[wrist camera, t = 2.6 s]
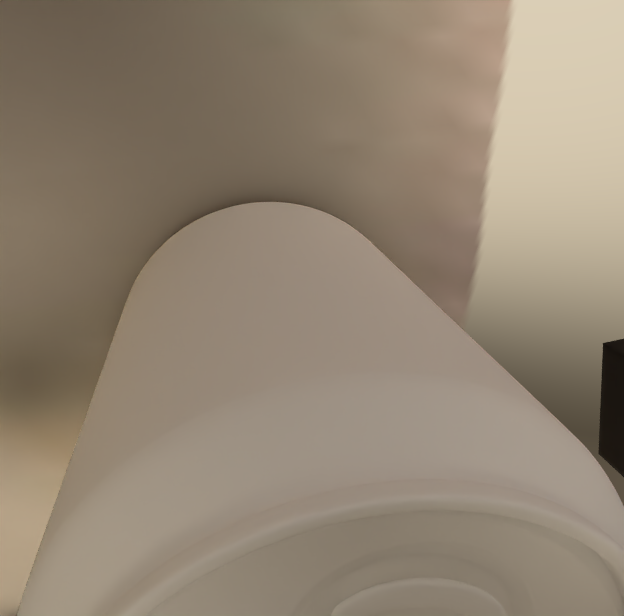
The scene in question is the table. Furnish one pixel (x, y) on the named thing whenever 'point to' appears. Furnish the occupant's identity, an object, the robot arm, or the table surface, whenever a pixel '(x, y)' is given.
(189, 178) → the table surface
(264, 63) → the table surface
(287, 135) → the table surface
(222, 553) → the beverage can
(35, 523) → the table surface
